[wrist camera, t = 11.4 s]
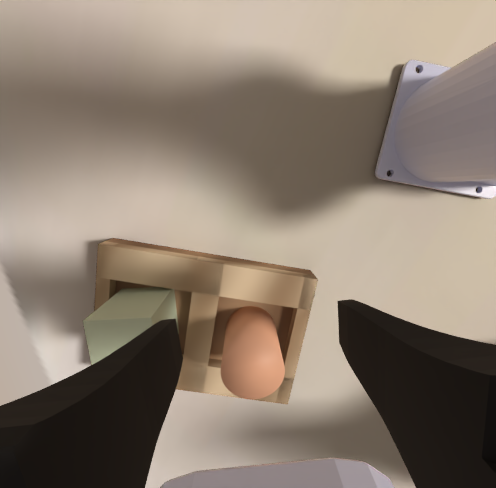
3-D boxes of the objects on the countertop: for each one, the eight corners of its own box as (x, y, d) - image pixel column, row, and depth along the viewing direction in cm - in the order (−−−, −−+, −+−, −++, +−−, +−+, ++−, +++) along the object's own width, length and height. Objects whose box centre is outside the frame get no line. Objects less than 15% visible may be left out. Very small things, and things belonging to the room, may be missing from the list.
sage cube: (173, 286, 20) (151, 317, 15) (179, 332, 21) (159, 376, 16) (122, 288, 20) (82, 320, 15) (129, 335, 21) (94, 380, 16)
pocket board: (310, 270, 21) (317, 279, 19) (283, 384, 23) (287, 404, 21) (113, 238, 20) (98, 243, 18) (105, 359, 23) (90, 377, 20)
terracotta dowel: (266, 299, 20) (274, 334, 15) (281, 342, 21) (292, 389, 16) (219, 314, 21) (211, 353, 16) (235, 356, 21) (232, 406, 16)
